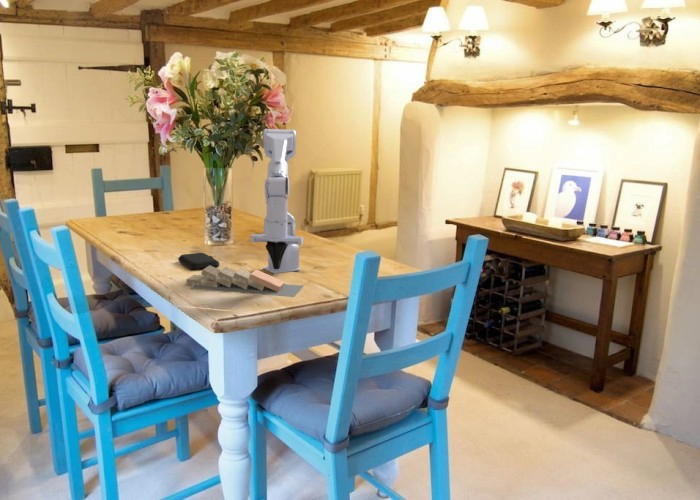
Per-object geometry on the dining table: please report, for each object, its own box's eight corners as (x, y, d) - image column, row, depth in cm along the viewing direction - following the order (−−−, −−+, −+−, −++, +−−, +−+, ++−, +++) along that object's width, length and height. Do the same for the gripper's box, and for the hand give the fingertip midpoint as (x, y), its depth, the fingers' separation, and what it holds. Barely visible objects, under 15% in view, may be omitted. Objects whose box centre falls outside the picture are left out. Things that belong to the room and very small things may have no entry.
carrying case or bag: (224, 269, 186) (207, 259, 198) (224, 259, 186) (207, 250, 198) (192, 273, 180) (176, 262, 192) (191, 263, 180) (176, 253, 192)
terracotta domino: (277, 292, 162) (248, 278, 163) (282, 287, 167) (254, 274, 167) (279, 287, 162) (250, 273, 162) (284, 282, 166) (256, 269, 167)
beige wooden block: (216, 287, 165) (186, 284, 166) (223, 282, 170) (194, 279, 171) (216, 281, 165) (186, 279, 166) (223, 276, 169) (194, 274, 171)
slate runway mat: (190, 289, 163) (190, 288, 163) (206, 278, 174) (206, 277, 174) (293, 297, 158) (294, 296, 158) (304, 286, 169) (304, 285, 169)
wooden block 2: (262, 290, 163) (233, 277, 163) (267, 285, 168) (239, 273, 168) (264, 285, 162) (234, 272, 163) (269, 280, 167) (241, 268, 168)
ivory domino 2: (229, 287, 164) (201, 274, 165) (235, 282, 169) (208, 270, 170) (231, 282, 164) (202, 269, 164) (237, 277, 169) (209, 265, 169)
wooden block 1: (245, 289, 163) (217, 276, 164) (251, 284, 168) (224, 271, 169) (247, 284, 163) (219, 271, 164) (253, 279, 168) (225, 266, 168)
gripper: (246, 221, 157) (247, 270, 160) (298, 224, 155) (298, 273, 158) (255, 217, 164) (255, 263, 167) (305, 220, 162) (304, 267, 165)
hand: (276, 268), depth 163 cm, fingers closed
